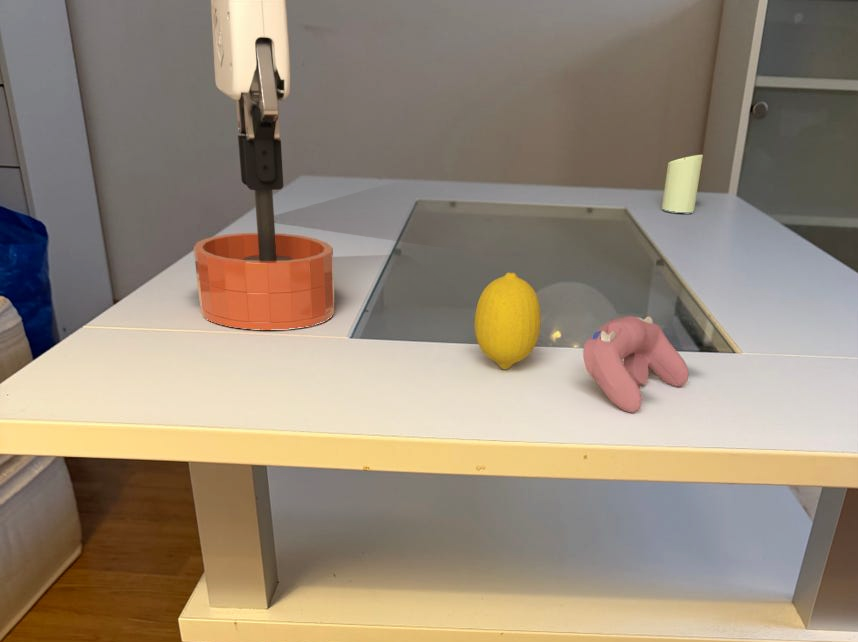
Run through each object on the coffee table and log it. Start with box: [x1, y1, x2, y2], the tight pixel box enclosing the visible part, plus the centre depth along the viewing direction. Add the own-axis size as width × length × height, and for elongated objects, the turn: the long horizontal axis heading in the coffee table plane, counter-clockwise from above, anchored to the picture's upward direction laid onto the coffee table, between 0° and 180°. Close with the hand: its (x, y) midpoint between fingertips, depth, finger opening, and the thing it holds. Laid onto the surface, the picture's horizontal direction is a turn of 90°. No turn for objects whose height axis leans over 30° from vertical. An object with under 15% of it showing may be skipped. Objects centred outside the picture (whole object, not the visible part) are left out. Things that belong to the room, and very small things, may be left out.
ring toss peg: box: [242, 190, 294, 261], centre depth 90 cm, size 5×5×14 cm
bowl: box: [193, 232, 335, 330], centre depth 93 cm, size 13×13×6 cm
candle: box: [661, 154, 704, 213], centre depth 151 cm, size 5×5×8 cm
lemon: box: [474, 272, 542, 370], centre depth 82 cm, size 6×6×8 cm
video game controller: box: [582, 315, 689, 413], centre depth 80 cm, size 10×5×7 cm, turn 144°
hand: (262, 185), depth 89 cm, fingers closed on ring toss peg
